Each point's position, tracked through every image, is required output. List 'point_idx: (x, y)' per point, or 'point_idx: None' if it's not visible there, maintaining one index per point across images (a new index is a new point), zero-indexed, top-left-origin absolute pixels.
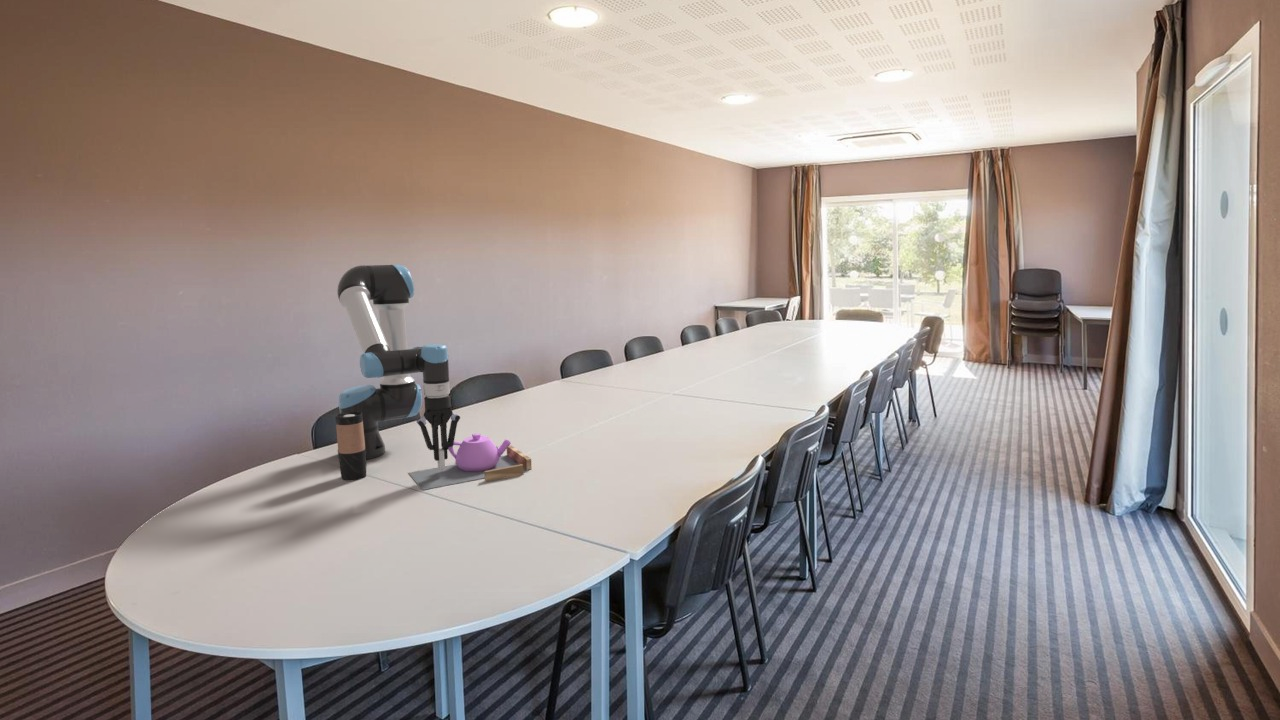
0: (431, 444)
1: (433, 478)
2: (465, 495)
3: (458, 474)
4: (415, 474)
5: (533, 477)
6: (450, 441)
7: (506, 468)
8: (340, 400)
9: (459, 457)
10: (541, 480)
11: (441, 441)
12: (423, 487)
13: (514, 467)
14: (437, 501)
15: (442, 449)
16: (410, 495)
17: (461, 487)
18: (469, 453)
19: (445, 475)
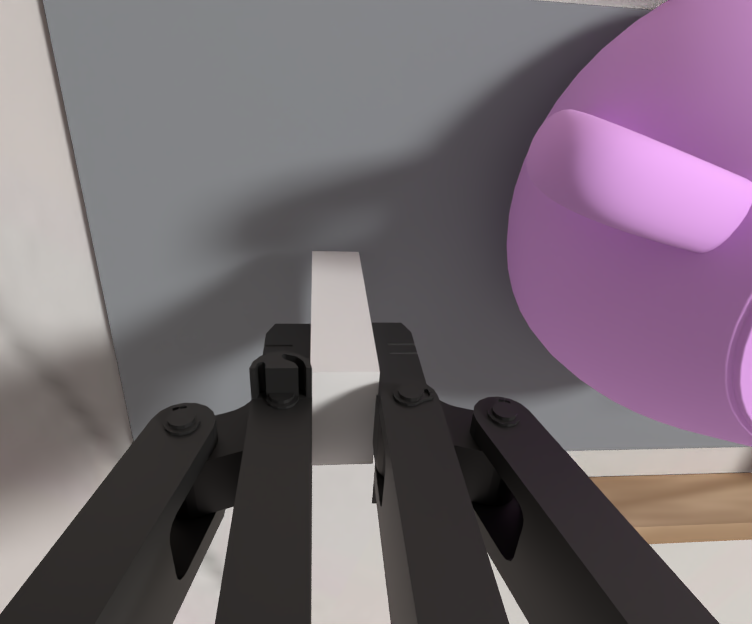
0: (195, 558)
1: (253, 294)
2: (345, 598)
3: (450, 310)
4: (112, 81)
5: (735, 541)
6: (490, 541)
7: (679, 540)
8: None
9: (548, 290)
10: (725, 582)
11: (388, 469)
12: None
13: (727, 536)
14: (197, 608)
15: (368, 425)
16: (55, 492)
17: (370, 508)
18: (626, 399)
19: None
